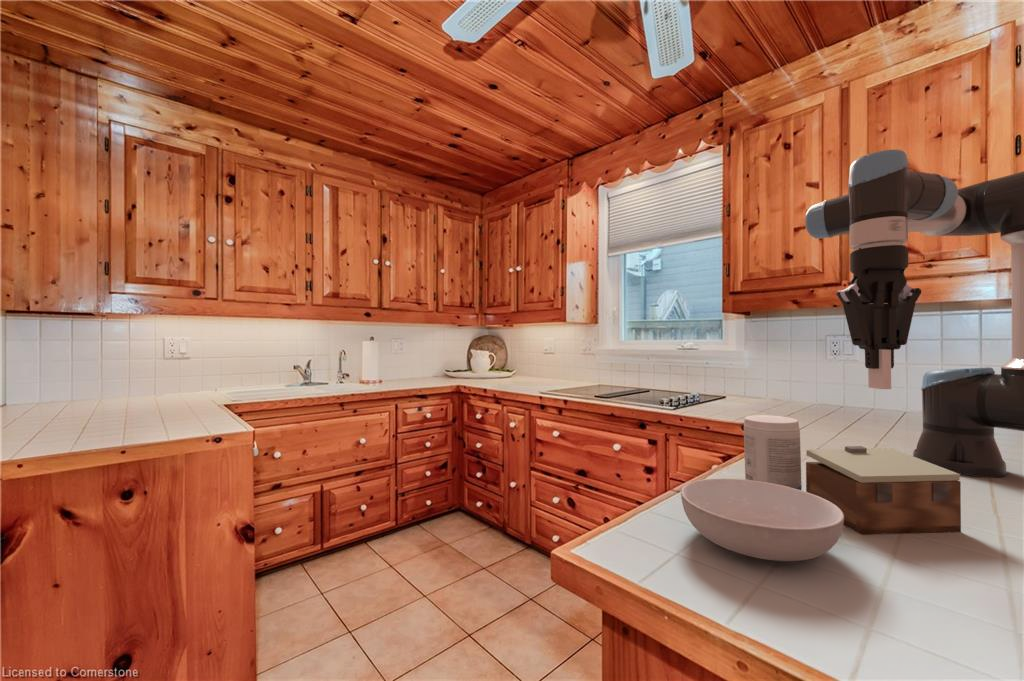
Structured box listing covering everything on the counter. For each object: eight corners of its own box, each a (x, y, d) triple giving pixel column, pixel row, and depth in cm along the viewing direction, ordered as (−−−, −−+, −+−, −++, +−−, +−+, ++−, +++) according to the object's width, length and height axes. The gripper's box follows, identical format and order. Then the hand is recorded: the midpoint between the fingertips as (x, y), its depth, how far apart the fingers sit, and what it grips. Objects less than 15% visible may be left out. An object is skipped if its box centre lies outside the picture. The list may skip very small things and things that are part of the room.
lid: (891, 453, 80) (891, 443, 80) (959, 480, 68) (960, 469, 68) (806, 455, 79) (806, 445, 79) (860, 482, 67) (861, 471, 67)
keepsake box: (890, 503, 80) (890, 460, 80) (962, 532, 68) (962, 481, 68) (806, 505, 79) (806, 462, 79) (863, 535, 67) (862, 484, 67)
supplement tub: (807, 493, 86) (806, 418, 86) (794, 506, 79) (793, 425, 79) (753, 481, 93) (752, 412, 93) (737, 493, 86) (736, 418, 86)
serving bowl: (874, 557, 61) (873, 507, 61) (790, 602, 50) (790, 543, 50) (734, 507, 79) (733, 469, 79) (651, 533, 68) (651, 490, 68)
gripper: (859, 243, 69) (861, 391, 69) (937, 242, 70) (939, 390, 70) (823, 252, 77) (825, 386, 77) (894, 252, 77) (896, 385, 77)
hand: (879, 388), depth 73 cm, fingers closed
